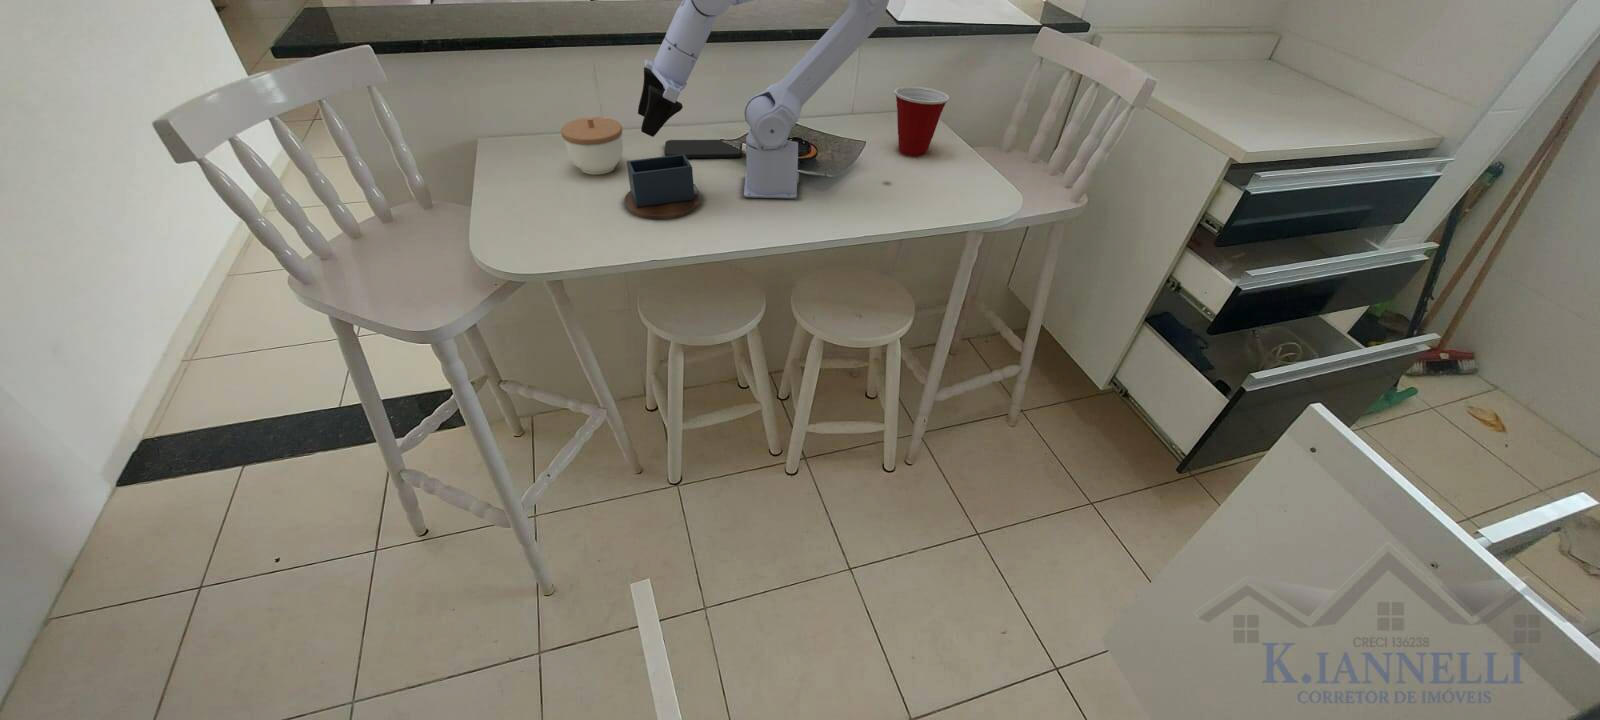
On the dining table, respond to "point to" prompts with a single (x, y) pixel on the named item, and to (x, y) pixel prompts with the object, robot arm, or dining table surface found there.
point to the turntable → (663, 208)
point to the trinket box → (594, 144)
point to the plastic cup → (917, 118)
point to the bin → (661, 180)
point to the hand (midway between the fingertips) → (645, 124)
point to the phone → (701, 148)
